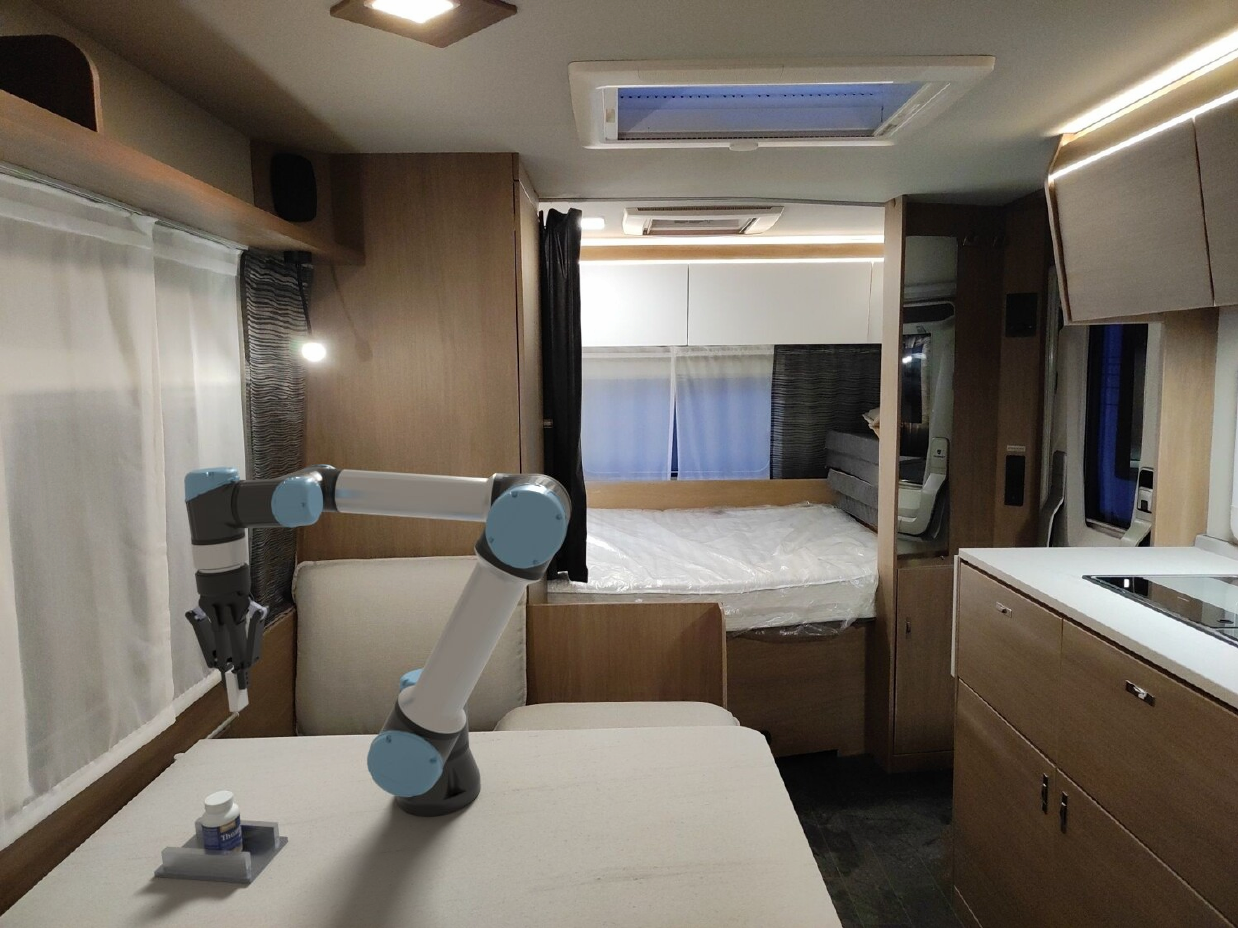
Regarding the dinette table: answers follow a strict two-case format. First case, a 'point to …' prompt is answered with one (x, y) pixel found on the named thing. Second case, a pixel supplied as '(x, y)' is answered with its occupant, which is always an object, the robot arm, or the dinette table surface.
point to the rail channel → (224, 855)
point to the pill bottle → (221, 823)
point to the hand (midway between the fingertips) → (239, 707)
